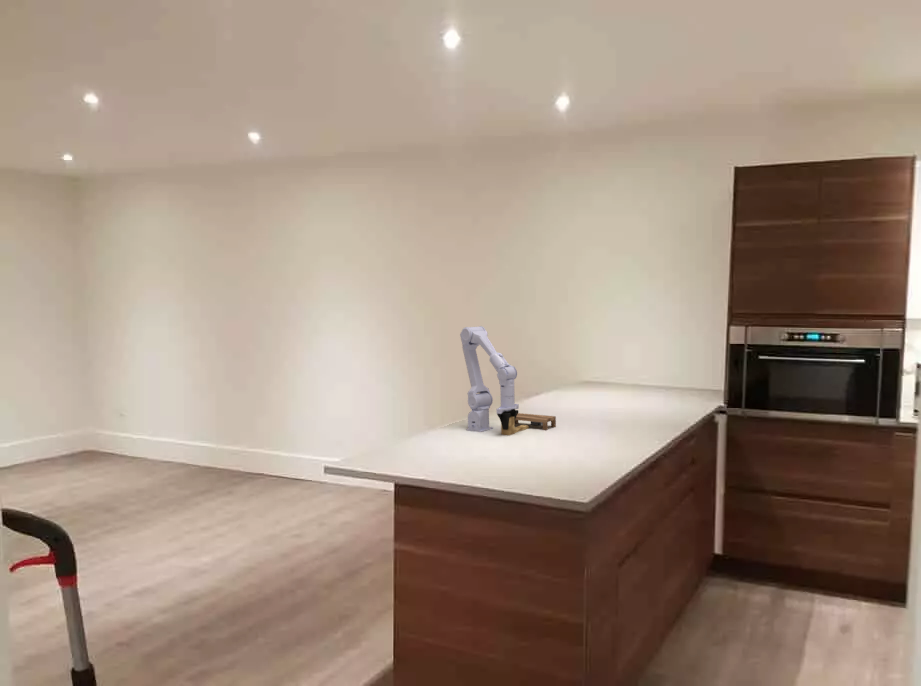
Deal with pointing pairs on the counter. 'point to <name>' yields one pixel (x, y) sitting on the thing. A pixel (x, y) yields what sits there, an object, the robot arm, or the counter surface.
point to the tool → (513, 427)
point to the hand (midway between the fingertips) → (508, 428)
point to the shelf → (537, 419)
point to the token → (536, 423)
